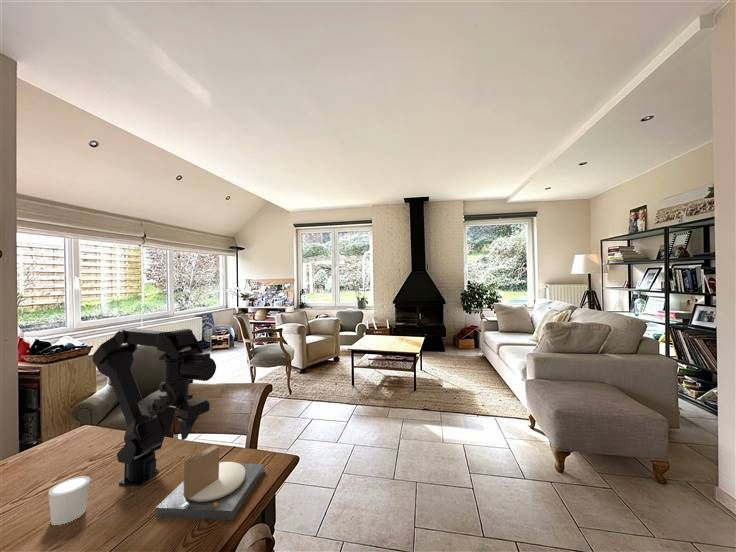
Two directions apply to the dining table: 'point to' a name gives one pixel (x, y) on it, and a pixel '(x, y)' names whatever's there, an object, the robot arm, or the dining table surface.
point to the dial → (210, 476)
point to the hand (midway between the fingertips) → (175, 436)
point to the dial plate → (215, 508)
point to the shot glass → (68, 500)
